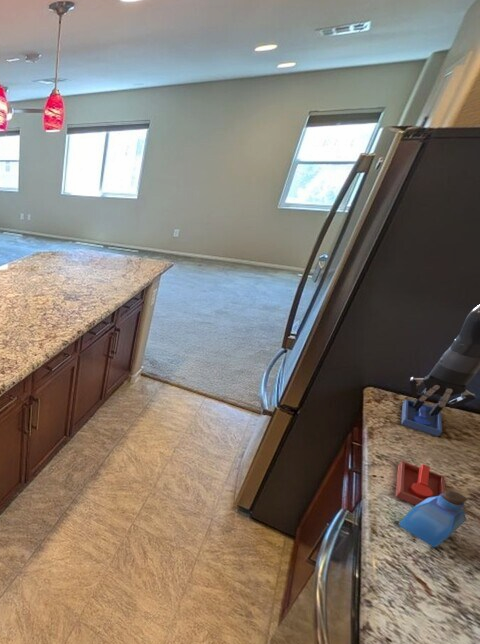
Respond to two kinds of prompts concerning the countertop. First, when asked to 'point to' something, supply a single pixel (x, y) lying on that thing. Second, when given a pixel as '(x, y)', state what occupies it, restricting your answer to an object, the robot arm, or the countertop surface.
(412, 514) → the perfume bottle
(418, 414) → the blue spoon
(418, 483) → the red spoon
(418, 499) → the red tray
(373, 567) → the countertop surface
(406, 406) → the blue tray
